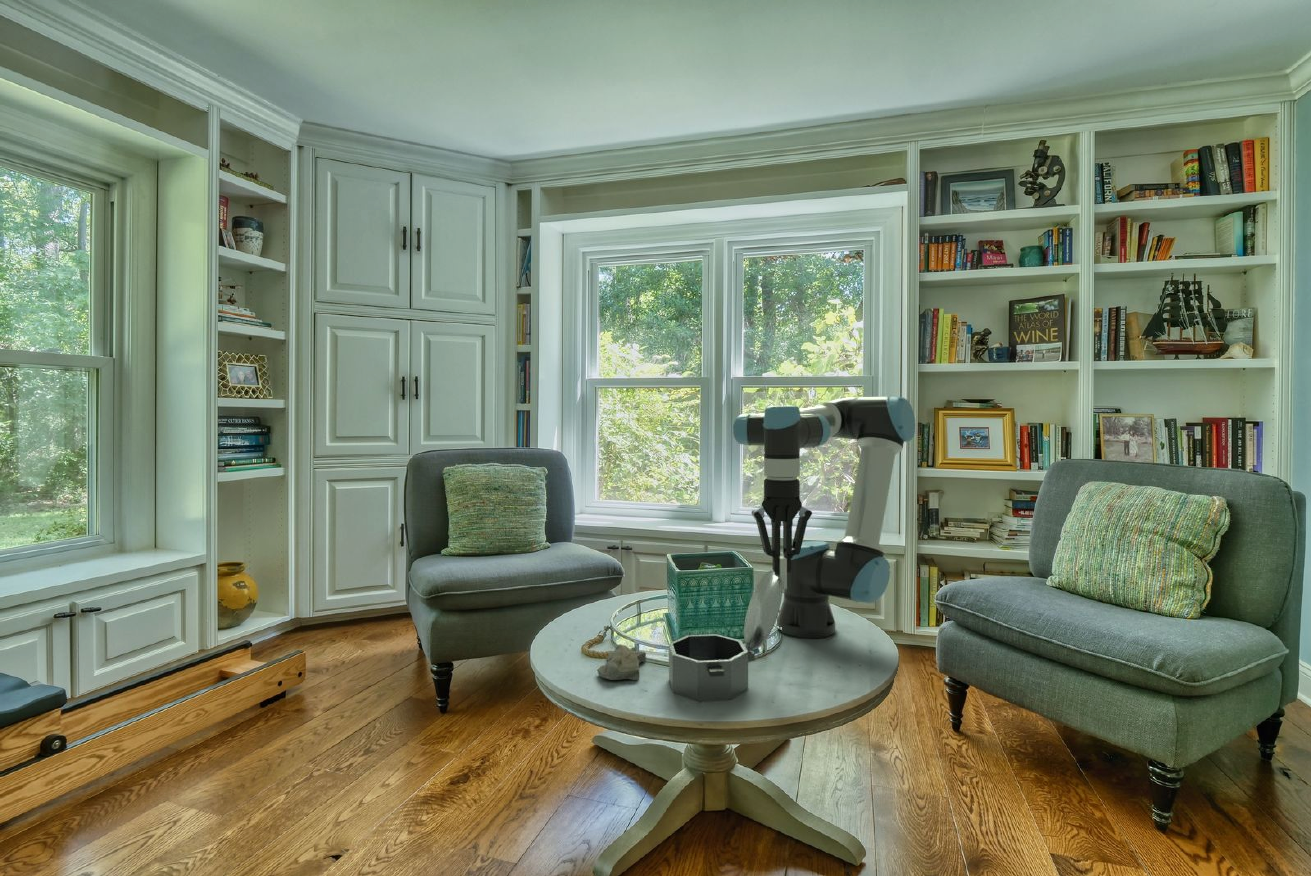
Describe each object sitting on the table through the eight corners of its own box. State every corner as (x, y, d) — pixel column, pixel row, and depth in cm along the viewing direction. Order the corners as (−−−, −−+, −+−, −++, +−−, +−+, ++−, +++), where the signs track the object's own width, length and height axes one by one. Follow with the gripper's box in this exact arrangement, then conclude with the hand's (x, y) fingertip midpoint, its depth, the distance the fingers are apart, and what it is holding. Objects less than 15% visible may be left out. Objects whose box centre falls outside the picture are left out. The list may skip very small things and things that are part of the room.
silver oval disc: (737, 632, 154) (745, 635, 154) (756, 660, 137) (765, 664, 137) (765, 562, 154) (772, 565, 154) (786, 582, 137) (795, 585, 137)
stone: (607, 658, 161) (607, 641, 161) (647, 660, 160) (647, 643, 160) (593, 683, 146) (593, 665, 146) (637, 686, 145) (637, 667, 145)
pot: (741, 663, 156) (741, 629, 156) (764, 703, 135) (764, 664, 135) (665, 666, 155) (665, 632, 154) (677, 707, 134) (676, 668, 133)
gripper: (805, 475, 149) (805, 581, 150) (747, 476, 147) (748, 583, 148) (817, 479, 141) (816, 590, 142) (756, 480, 140) (756, 593, 141)
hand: (781, 587), depth 145 cm, fingers closed
